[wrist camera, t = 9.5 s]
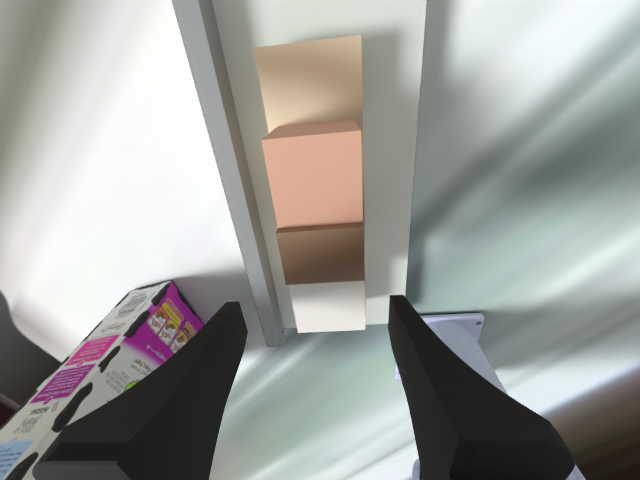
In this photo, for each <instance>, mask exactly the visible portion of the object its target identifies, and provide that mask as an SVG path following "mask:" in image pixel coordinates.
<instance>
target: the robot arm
mask: <svg viewBox="0 0 640 480" xmlns="http://www.w3.org/2000/svg"><path fill="white" fill-rule="evenodd" d="M484 320H485V317H484V316H483V314H481V313H468V314H447V315H425V316H420V315H419V314H418V313H417V312H416V310H415V309H414V308H413V307H412V305H411V304H410V303H409V301H408V300H407V298H406V297H405V296H404V295H390V300H389V319H388V329H389V335H390V341H391V346H392V350H393V354H394V357H395V360H396V365H395V378H396V380H399V381H402V384H403V387H404V390H405V394H406V397H407V401H408V405H409V410H410V415H411V419H412V424H413V429H414V434H415V440H416V445H417V450H418V455H419V459H417V460H416V461H415V463H414V466H413V471H412V479H411V480H585V478H584V477H583V475H582V474H581V472H580V471H579V469H578V468H577V466H576V465H575V464H576V462H575V457H574V455H573V454H572V452H571V451H570V449H569V448H568V446H567V445H566V443H565V442H564V440H563V439H562V437H561V436H560V435H559V433H558V432H557V431H556V430H555V428H554V427H553V426H552V424H551V423H550V422H549V421H548V420H546V419H545V418H543V417H542V416H540V415H538V414H537V413H535V412H533V411H532V410H530V409H529V408H527V407H525V406H524V405H522V404H520V403H519V402H517V401H516V400H514V399H513V398H511V397H510V396H508V394H507V392H506V391H505V389H504V387H503V386H502V384H501V382H500V380H499V379H498V377H497V375H496V373H495V372H494V370H493V368H492V366H491V365H490V363H489V361H488V359H487V358H486V356H485V354H484V352H483V351H482V349H481V347H480V345H479V344H478V342H479V338H480V335H481V331H482V327H483V324H484ZM247 333H248V331H247V328H246V324H245V321H244V318H243V314H242V311H241V307H240V304H239V302H226V303H225V304H224V305H223V306H222V307H221V308H220V309H219V310H218V312H217V313H216V314H215V315H214V316H213V317H212V318H211V319H210V320H209V321H208V322H207V323H206V324H205V325H204V326H203V327H202V328H201V329H200V330H199V331H198V332H197V333H196V334H195V335H194V336H193V337H192V338H191V339H190V340H189V341H188V342H187V343H186V344H185V345H183V346H182V347H181V348H180V349H179V350H178V351H177V352H176V353H175V354H174V355H172V356H171V357H170V358H169V359H168V360H166V361H165V362H164V363H163V364H162V365H160V366H159V367H158V368H157V369H155V370H154V371H153V372H151V373H150V374H149V375H147V376H146V377H144V378H143V379H142V380H140V381H139V382H137V383H136V384H135V385H133V386H132V387H130V388H129V389H127V390H126V391H124V392H123V393H121V394H120V395H118V396H117V397H115V398H114V399H112V400H110V401H109V402H107V403H106V404H104V405H102V406H101V407H99V408H97V409H96V410H94V411H92V412H90V413H89V414H87V415H85V416H83V417H81V418H80V419H78V420H76V421H74V422H73V423H71V424H69V425H67V426H65V427H64V428H63V430H62V431H61V432H60V433H59V435H58V436H57V437H56V438H55V440H54V441H53V442H52V444H51V445H50V446H49V447H48V449H47V450H46V451H45V453H44V454H43V455H42V456H41V458H40V459H39V460H38V462H37V463H36V464H35V465H34V467H33V470H32V475H33V477H34V479H35V480H209V475H210V470H211V465H212V460H213V455H214V451H215V446H216V442H217V437H218V433H219V428H220V424H221V420H222V416H223V412H224V408H225V405H226V402H227V398H228V396H229V393H230V390H231V387H232V384H233V381H234V378H235V376H236V373H237V370H238V367H239V364H240V361H241V358H242V355H243V352H244V348H245V343H246V338H247Z"/></svg>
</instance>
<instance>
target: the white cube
mask: <svg viewBox="0 0 640 480" xmlns="http://www.w3.org/2000/svg"><path fill="white" fill-rule="evenodd" d="M289 289H290V294H291V299H292V304H293V310H294V315H295V320H296V325H297V331H298V333H307V332H329V331H351V330H365V287H364V281H348V282H330V283H313V284H295V285H289Z"/></svg>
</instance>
